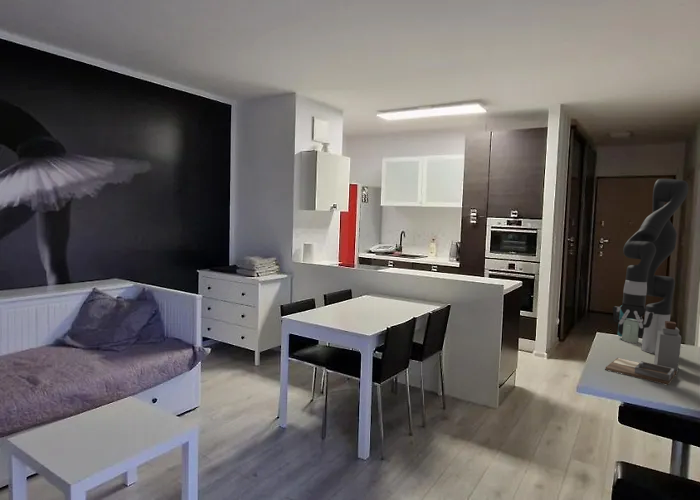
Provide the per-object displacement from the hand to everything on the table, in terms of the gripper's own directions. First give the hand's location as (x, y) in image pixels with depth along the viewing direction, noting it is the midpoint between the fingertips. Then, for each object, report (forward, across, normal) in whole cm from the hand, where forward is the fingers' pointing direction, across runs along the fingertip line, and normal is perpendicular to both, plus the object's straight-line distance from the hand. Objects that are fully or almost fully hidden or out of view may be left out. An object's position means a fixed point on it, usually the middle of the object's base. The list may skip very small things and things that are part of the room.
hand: (630, 335), depth 183 cm
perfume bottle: (+12, -11, -11) cm, 20 cm away
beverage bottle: (+12, +11, -45) cm, 48 cm away
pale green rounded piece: (+2, 0, +1) cm, 2 cm away
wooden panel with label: (+12, -5, +3) cm, 14 cm away
